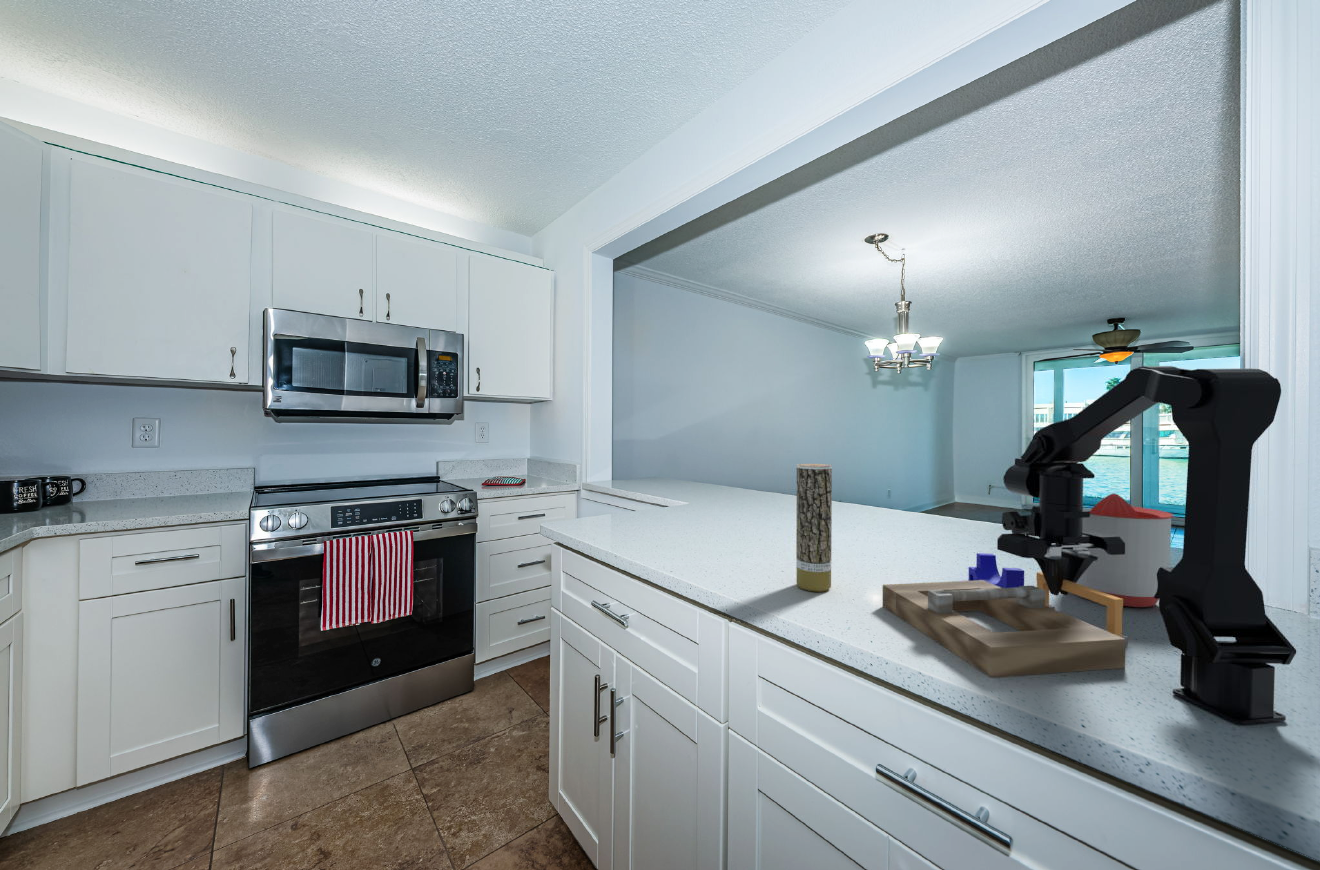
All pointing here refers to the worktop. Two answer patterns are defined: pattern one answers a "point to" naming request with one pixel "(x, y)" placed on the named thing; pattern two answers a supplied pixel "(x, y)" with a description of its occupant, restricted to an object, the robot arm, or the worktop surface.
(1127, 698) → the worktop surface
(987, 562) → the cable clip
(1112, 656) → the wooden picture frame
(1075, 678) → the worktop surface
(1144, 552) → the citrus juicer
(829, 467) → the paper tube
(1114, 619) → the orange staple arch
